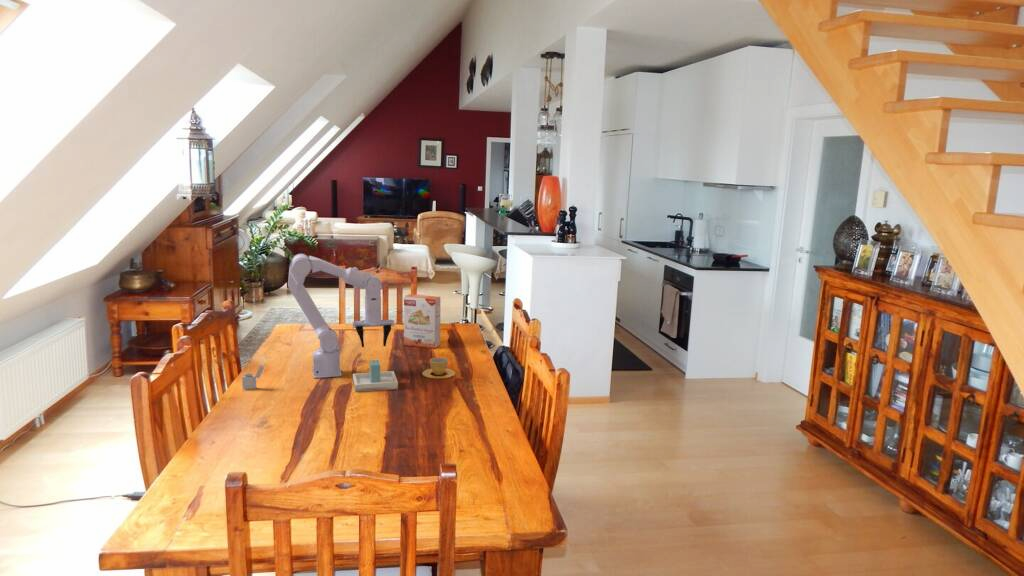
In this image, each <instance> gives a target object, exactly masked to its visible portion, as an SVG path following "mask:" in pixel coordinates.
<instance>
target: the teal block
mask: <svg viewBox="0 0 1024 576" xmlns="http://www.w3.org/2000/svg"><path fill="white" fill-rule="evenodd" d="M380 372H381V362H380V361H379V359H370V360H369V373H370V382H371V383H378V382H380Z"/></svg>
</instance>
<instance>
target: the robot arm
mask: <svg viewBox="0 0 1024 576" xmlns="http://www.w3.org/2000/svg"><path fill="white" fill-rule="evenodd" d="M310 272H312V273H313V274H314V273H317V272H324V273H326V274H329V275H330V274H331V275H332V276H335V277H339V278H342V280H343V282H344V283H345V284H347V285H351V286H353V287H356V288H359V289H364V290H365V291H364V292H365V295H364V320H354V321H352V329H355V330H356V333H357V335H358V337H359V339H360V342H361V348H365V344H364V343H365V342H364V328H371V327H372V328H373V327H374V328H375V327H376V328H377V327H383V338H382V339H383V341H382V342H383V344H382V345H383V347H386V346H387V340H388V337H389V335H390V332H391V330H392V327H395V320H394V319H382V296H381V295H382V289H383V285H382V281H381V279H380V278H379V277H378V276H377V275H375V274H372V273H370V272H367V273H366V272H364V271H361V270H359V269H358V267H356V266H354V267H348V268H343V267H341V266H339V265H336V264H333V263H331V262H328V261H326V260H324V259H321V258H319V257H315V256H313V255H306V254H305V253H298V254H295V255H294V256H293V258H292V260H291V262H290V263H289V269H288V281H287V287H288V289H289V291H290V293H291V295H292V296H293V297H294V298H295V301H296V302H297V304H298V305H299V307H300V308H301V311H302V312H303V314H304V315H305V317H306V319H307V320H308V322H309V323H310V325H311V326H312V328H313V330H314V332H315V334H316V336H317V338H318V340H319V347H318V349H317V350H313V351H312V365H313V366H312V369H311V370H312V372H313V378H314V379H321V378H336V377H342V369H341V363H340V362H341V360H340V359H341V357H340V356H341V355H340V347H339V344H340V341H339V339H338V334H337V332H336V331H335V330H334V329H332V328H331V327H330V326H329V324H328V323H327V322H326V321H325V319H324V316H323V315H322V313H321V312H320V311H319V309H318V307H317V305H316V303H315V302H314V300H313V299H312V298H311V296H310V294H309V292H308V291H307V289H306V287H305V285H304V283H305V280H306V277H307V276H308V275H309V274H310Z"/></svg>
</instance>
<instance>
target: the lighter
mask: <svg viewBox="0 0 1024 576" xmlns="http://www.w3.org/2000/svg"><path fill="white" fill-rule="evenodd" d="M265 367H266V366H265V365H263V364H260V366H259V367H258V370H257V372H256V374H254V375H253V372H247V373H244V375H242V377H241V385H242V390H243V389H249V390H256V389H257V379H259V378H260V377H261V375H262V373H263V370H264V369H265Z"/></svg>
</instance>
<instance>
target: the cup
mask: <svg viewBox="0 0 1024 576" xmlns="http://www.w3.org/2000/svg"><path fill="white" fill-rule="evenodd" d="M448 361H449V360H448V358H446V357H440V356H439V357H432V358H430V359H429V365H430V368H427V369H426V370H423V371H422V373H421V374H422V376H423V377H426V378H428V379H429V378H430V379H448V378H451V377H453V376H455V375H456V371H455V370H453V369H451V368H448V363H449V362H448ZM431 373H433V375H432V374H431ZM445 373H446V374H445ZM447 373H448V374H447ZM444 374H445V375H444Z"/></svg>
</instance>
